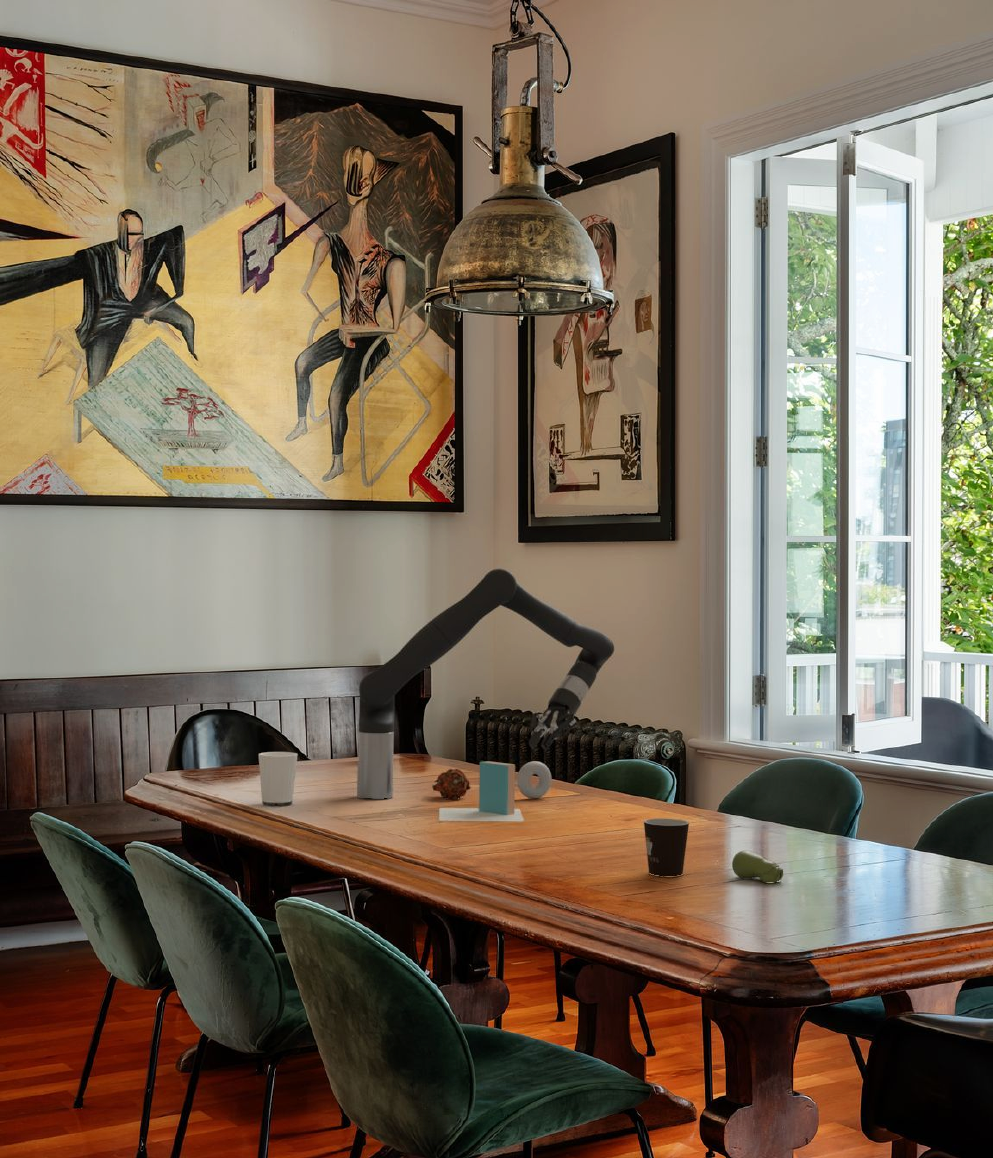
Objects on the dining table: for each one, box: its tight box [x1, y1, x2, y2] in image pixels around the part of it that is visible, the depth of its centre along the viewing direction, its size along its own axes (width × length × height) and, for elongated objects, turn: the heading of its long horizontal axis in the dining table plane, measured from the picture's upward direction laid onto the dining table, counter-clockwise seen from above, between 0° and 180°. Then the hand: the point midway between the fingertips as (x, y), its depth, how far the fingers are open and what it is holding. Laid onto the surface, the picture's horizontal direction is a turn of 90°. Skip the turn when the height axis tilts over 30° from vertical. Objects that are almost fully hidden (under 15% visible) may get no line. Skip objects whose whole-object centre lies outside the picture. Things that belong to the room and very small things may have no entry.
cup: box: [258, 751, 298, 807], centre depth 345 cm, size 10×10×13 cm
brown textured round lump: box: [432, 768, 472, 800], centre depth 360 cm, size 8×8×12 cm
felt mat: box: [438, 807, 525, 823], centre depth 330 cm, size 20×20×1 cm
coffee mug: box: [643, 817, 690, 876], centre depth 263 cm, size 12×9×10 cm
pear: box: [731, 850, 784, 883], centre depth 257 cm, size 6×5×10 cm
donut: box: [516, 760, 552, 800], centre depth 361 cm, size 10×4×10 cm, turn 117°
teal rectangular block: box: [478, 761, 516, 815], centre depth 334 cm, size 3×9×12 cm, turn 47°
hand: (537, 746), depth 345 cm, fingers open, 3 cm apart
